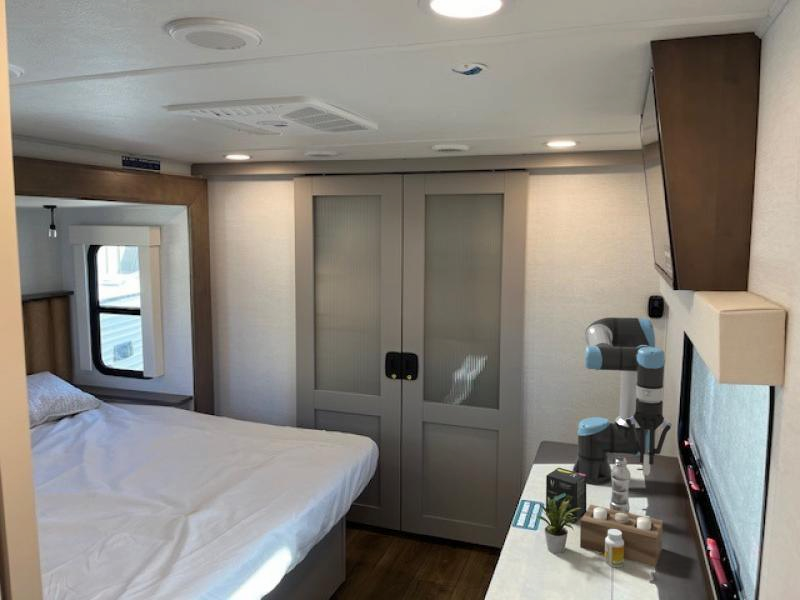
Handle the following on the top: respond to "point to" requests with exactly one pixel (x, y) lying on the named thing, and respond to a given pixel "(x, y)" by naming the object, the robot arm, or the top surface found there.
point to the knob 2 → (644, 523)
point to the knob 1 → (600, 513)
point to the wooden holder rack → (623, 535)
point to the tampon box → (567, 491)
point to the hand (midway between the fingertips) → (646, 473)
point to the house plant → (557, 526)
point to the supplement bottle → (614, 548)
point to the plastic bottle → (620, 486)
